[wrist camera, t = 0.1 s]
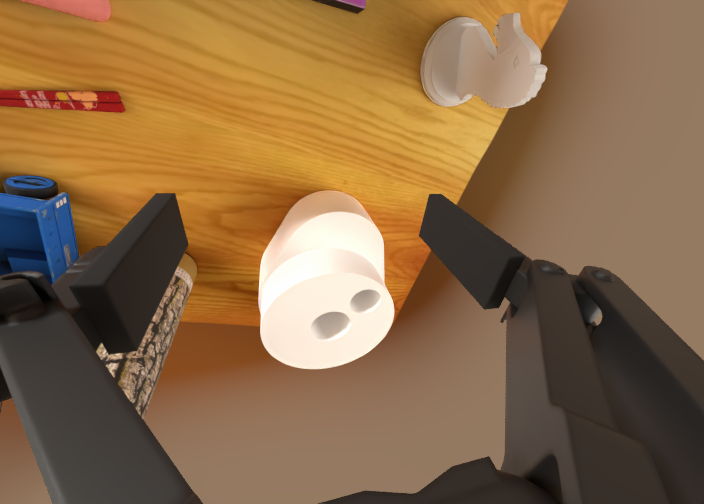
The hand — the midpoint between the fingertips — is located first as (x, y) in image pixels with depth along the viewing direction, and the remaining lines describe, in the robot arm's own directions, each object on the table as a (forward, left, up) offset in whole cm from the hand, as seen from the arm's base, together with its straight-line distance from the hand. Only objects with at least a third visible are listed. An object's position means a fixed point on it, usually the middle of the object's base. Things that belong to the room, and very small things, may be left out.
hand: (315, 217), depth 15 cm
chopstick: (-1, -30, -27) cm, 41 cm away
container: (+21, +5, -27) cm, 34 cm away
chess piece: (-9, +22, -27) cm, 36 cm away
